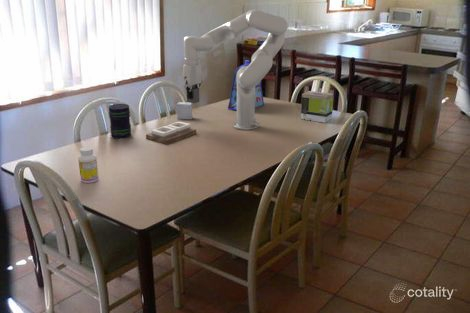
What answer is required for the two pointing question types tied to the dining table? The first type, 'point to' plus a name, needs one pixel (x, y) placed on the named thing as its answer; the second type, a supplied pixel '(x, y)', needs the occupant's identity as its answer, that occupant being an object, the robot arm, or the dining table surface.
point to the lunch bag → (233, 94)
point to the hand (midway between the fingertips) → (193, 97)
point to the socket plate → (170, 129)
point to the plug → (194, 95)
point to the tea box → (317, 106)
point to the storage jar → (120, 121)
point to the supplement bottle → (88, 165)
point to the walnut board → (173, 137)
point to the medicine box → (184, 110)
